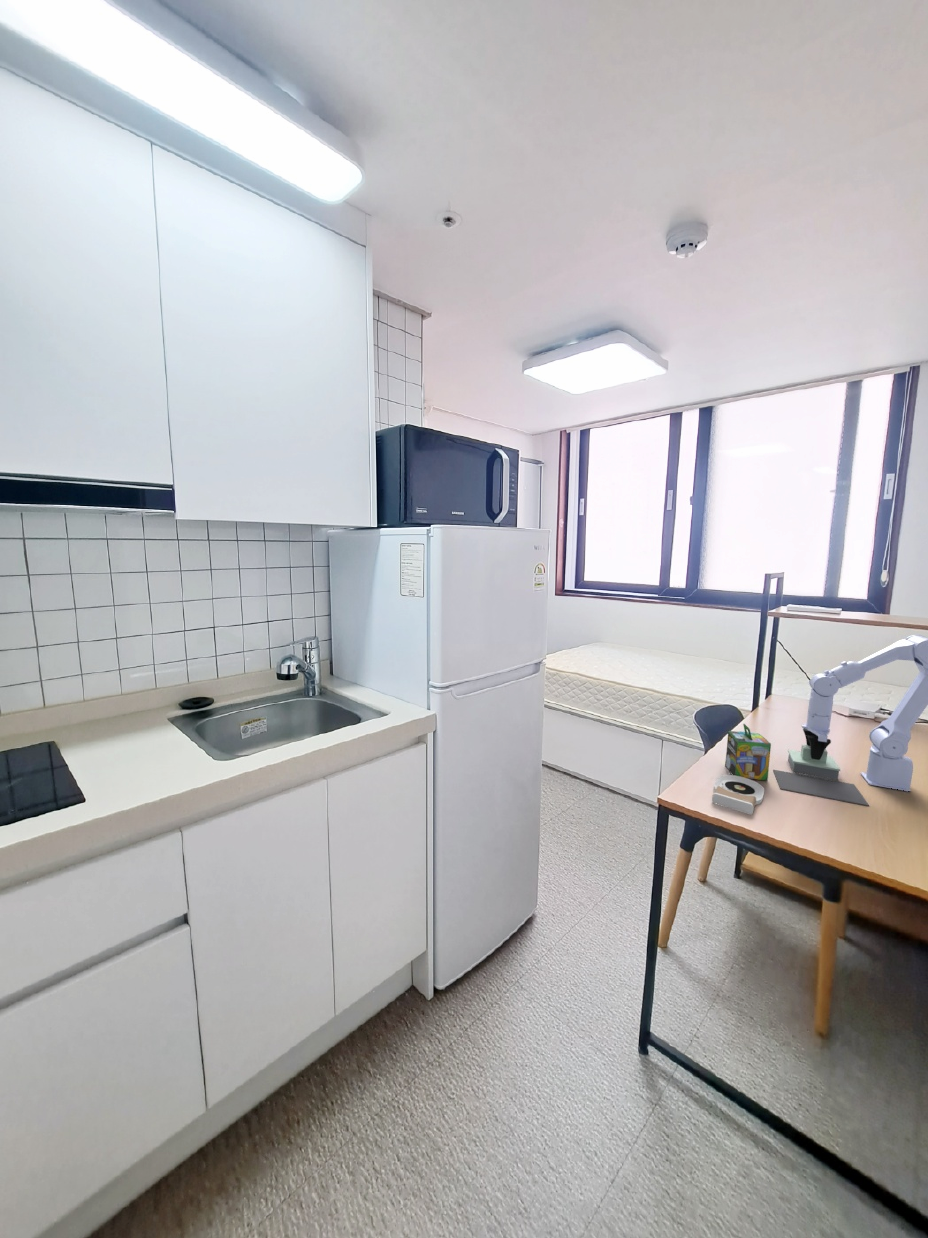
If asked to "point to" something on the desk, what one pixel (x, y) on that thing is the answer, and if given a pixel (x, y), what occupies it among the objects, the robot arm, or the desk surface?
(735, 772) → the chalk box
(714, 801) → the record player
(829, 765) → the lid
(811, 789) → the rubber mat
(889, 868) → the desk surface
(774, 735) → the desk surface
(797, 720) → the desk surface
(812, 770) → the chalk tray box
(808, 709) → the robot arm
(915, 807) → the desk surface
